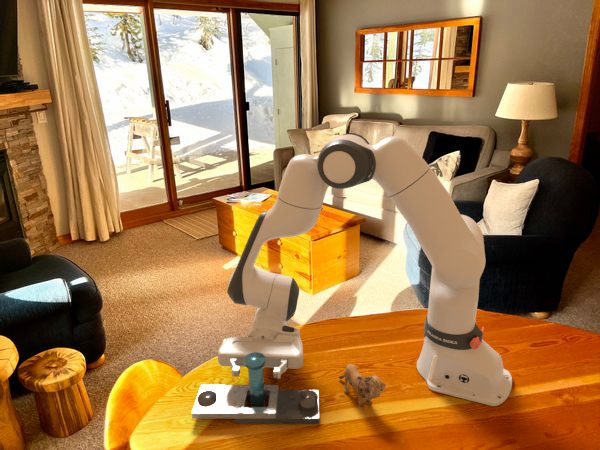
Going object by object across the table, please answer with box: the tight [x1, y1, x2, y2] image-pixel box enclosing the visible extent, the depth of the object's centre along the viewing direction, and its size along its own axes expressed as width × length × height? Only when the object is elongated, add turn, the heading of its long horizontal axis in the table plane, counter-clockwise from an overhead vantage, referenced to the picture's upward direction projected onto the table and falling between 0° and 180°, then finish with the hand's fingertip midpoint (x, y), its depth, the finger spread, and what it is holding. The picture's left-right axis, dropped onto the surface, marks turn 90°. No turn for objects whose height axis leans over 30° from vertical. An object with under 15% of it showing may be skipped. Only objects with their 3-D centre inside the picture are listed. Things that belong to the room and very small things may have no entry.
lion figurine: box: [338, 363, 387, 410], centre depth 107 cm, size 15×5×9 cm, turn 34°
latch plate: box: [191, 384, 320, 425], centre depth 105 cm, size 28×9×4 cm, turn 88°
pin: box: [245, 352, 266, 407], centre depth 103 cm, size 4×4×14 cm
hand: (255, 375), depth 103 cm, fingers open, 8 cm apart
